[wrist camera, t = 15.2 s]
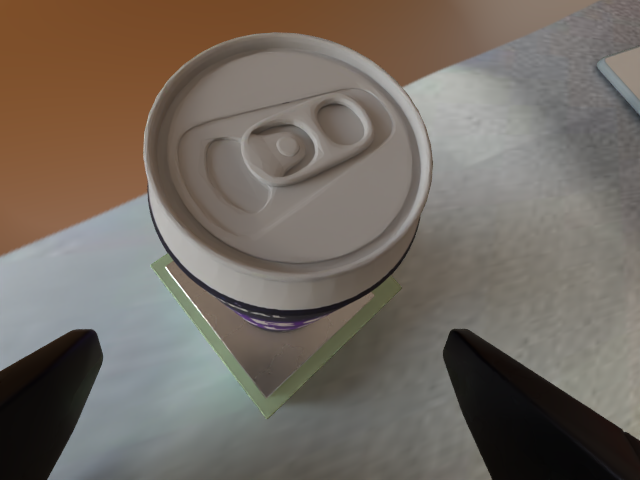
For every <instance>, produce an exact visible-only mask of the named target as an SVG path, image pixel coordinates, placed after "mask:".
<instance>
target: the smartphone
mask: <svg viewBox="0 0 640 480" xmlns="http://www.w3.org/2000/svg"><path fill="white" fill-rule="evenodd" d="M597 67H598V69H599V70H600V71H601V73H602V74H603V75H604V76H605V77H606V78H607V79H608V80H609V82H610V83H611V84H612V85H613V86H614V87H615V88H616V89H617V91H618V92H619V93H620V94H621V95H622V96H623V97H624V98H625V100H626V101H627V102H628V103H629V104H630V105H631V106H632V107H633V109H634V110H635V111H636V112H637V113H638V114H639V115H640V45H639V46H636V47H633V48H630V49H627V50H624V51H621V52H618V53H615V54H612V55H609V56H606V57H603V58H602V59H601V60H599V61H598V63H597Z"/></svg>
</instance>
